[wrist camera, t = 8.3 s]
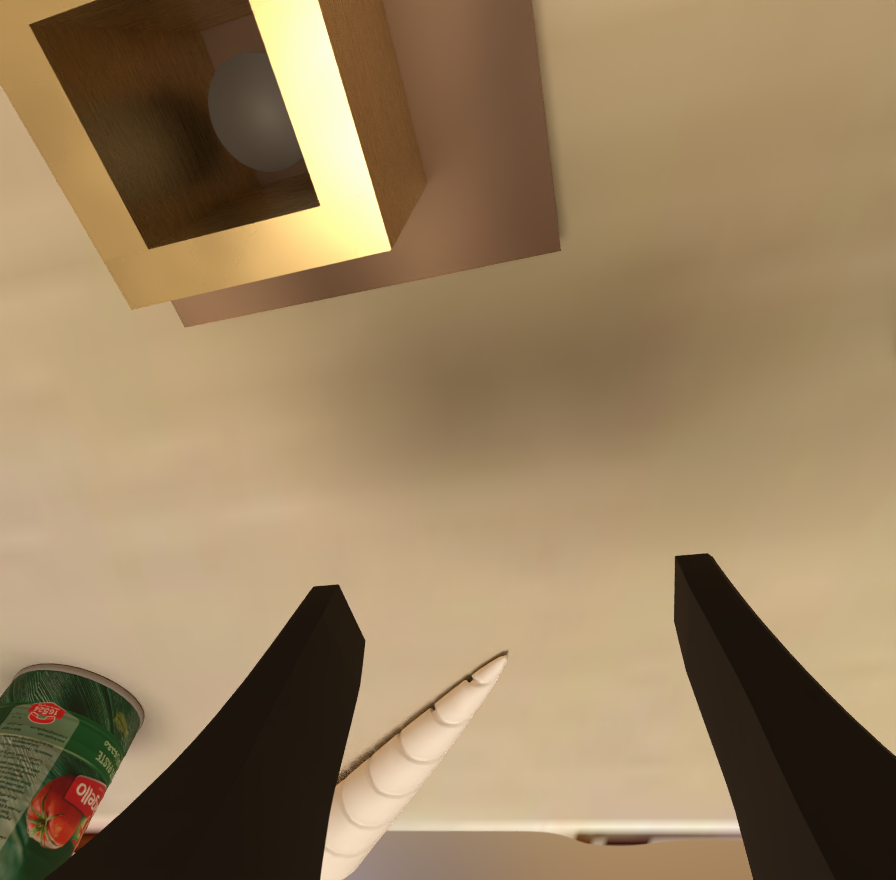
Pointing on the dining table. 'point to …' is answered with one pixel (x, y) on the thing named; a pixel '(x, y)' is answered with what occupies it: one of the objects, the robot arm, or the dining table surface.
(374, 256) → the post stand
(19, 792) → the canned tomato
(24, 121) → the brass collar
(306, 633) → the robot arm
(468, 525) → the dining table surface
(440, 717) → the unicorn horn
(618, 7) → the dining table surface
